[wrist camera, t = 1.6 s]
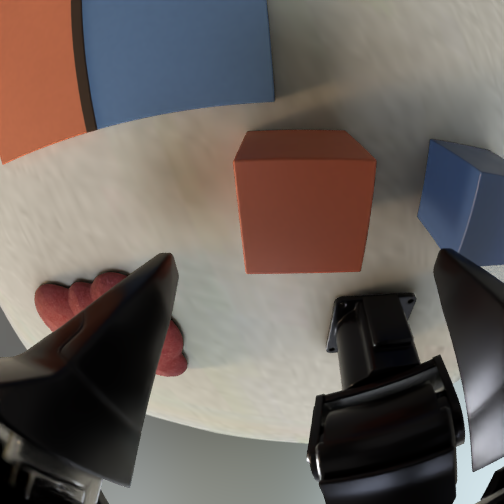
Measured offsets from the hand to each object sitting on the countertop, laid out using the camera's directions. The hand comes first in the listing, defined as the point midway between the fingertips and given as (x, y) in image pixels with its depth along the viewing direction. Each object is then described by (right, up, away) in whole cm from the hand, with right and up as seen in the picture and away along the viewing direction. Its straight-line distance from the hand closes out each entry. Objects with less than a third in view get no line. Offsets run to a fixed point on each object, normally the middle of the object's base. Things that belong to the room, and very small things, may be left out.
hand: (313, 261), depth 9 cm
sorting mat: (-11, +15, -1) cm, 19 cm away
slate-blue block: (+10, +5, +5) cm, 12 cm away
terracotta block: (+1, +4, +6) cm, 7 cm away
